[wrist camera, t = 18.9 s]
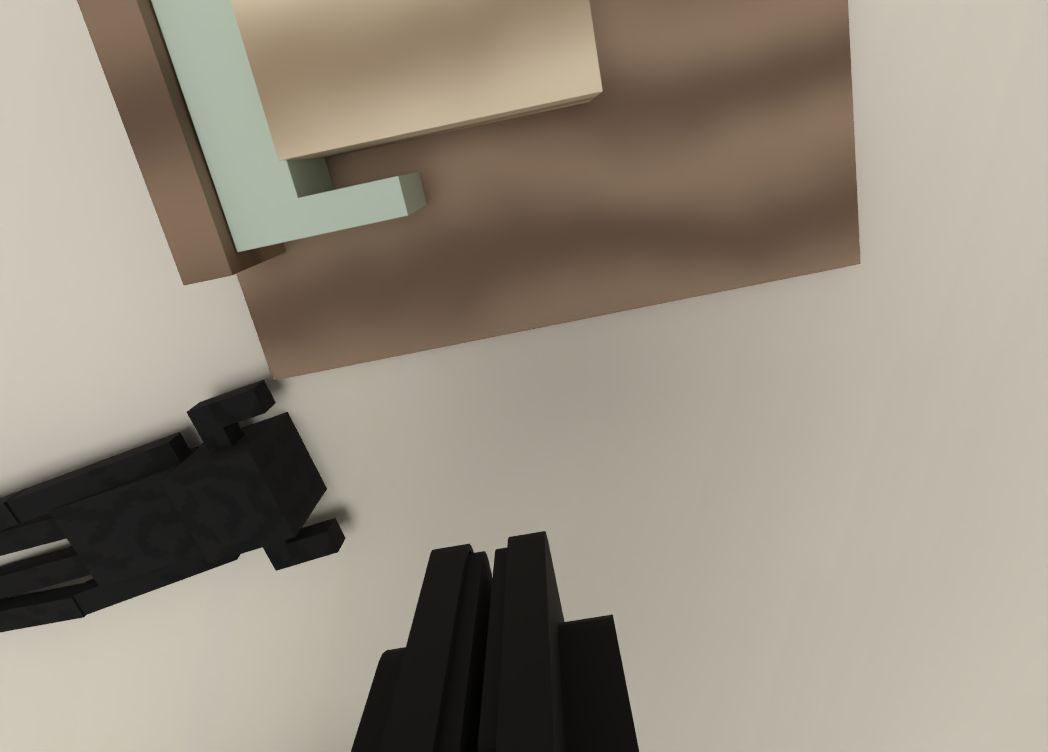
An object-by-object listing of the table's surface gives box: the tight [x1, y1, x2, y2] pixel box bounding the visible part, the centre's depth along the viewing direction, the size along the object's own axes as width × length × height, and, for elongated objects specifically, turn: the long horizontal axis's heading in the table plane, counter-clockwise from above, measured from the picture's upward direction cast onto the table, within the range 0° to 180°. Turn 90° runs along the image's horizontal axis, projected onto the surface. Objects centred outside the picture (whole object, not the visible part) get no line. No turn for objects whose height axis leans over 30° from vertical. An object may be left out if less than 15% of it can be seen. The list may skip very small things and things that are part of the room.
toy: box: [0, 380, 345, 632], centre depth 36 cm, size 10×5×30 cm
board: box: [77, 0, 860, 380], centre depth 27 cm, size 20×29×7 cm
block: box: [151, 0, 427, 252], centre depth 27 cm, size 10×7×5 cm, turn 12°
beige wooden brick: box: [231, 0, 603, 161], centre depth 26 cm, size 6×12×6 cm, turn 101°
